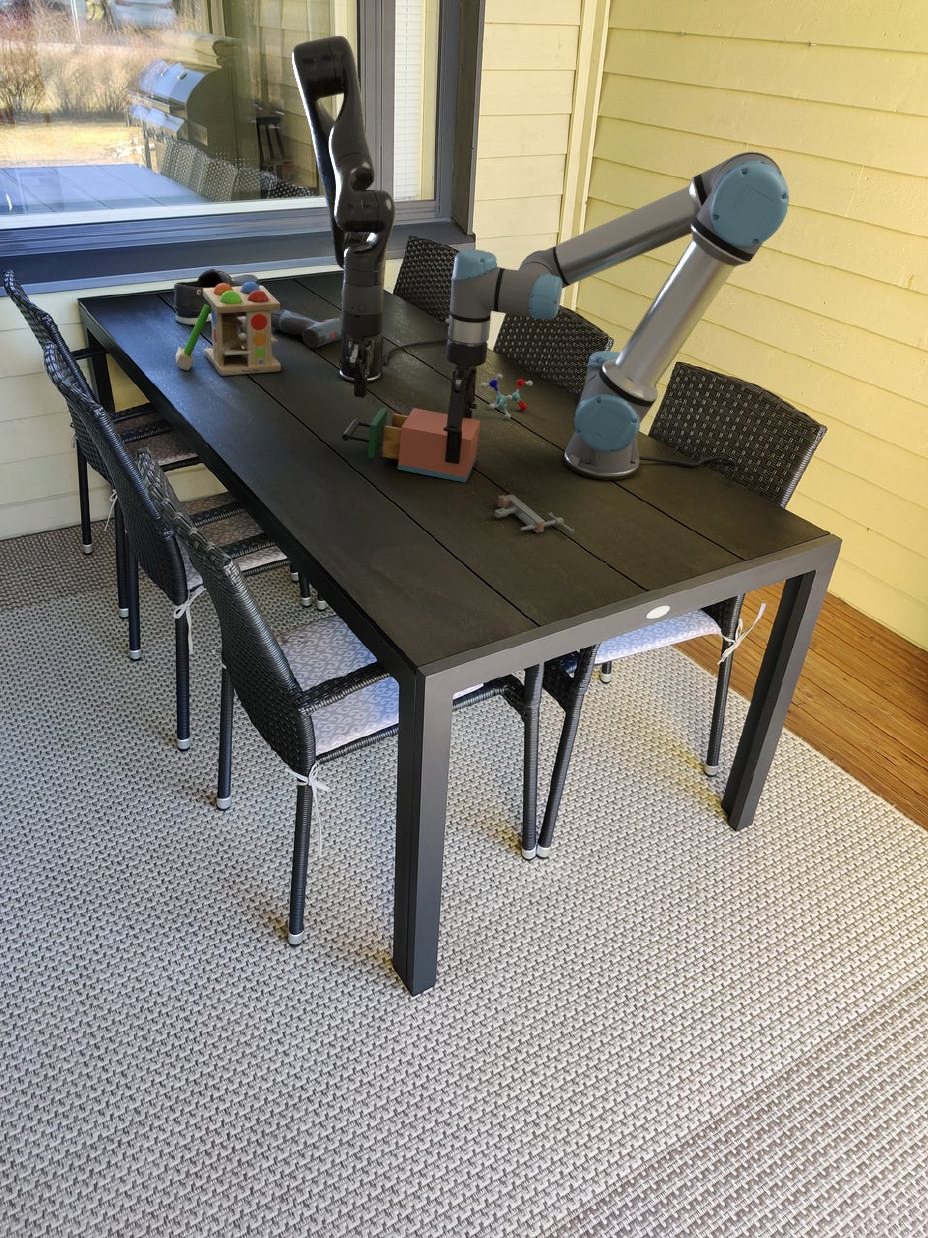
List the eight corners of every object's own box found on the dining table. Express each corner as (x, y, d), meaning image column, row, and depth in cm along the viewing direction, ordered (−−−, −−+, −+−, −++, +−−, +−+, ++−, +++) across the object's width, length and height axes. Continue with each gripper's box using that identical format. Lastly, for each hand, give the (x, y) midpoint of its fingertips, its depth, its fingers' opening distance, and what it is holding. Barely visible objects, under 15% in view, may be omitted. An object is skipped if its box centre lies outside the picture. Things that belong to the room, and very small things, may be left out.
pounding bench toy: (183, 379, 220) (176, 299, 210) (169, 357, 231) (162, 280, 221) (282, 371, 230) (280, 294, 220) (264, 350, 240) (262, 276, 230)
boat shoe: (280, 303, 273) (279, 264, 268) (193, 326, 249) (189, 285, 244) (246, 294, 279) (244, 257, 273) (158, 317, 255) (153, 276, 250)
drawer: (340, 452, 192) (342, 419, 188) (352, 434, 199) (354, 402, 196) (429, 469, 191) (432, 436, 187) (438, 451, 198) (442, 419, 194)
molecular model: (528, 411, 213) (513, 366, 211) (488, 425, 216) (474, 381, 215) (541, 408, 223) (527, 366, 222) (503, 422, 227) (489, 380, 225)
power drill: (305, 316, 264) (364, 334, 256) (257, 332, 251) (318, 351, 243) (305, 296, 261) (365, 314, 253) (257, 311, 248) (318, 330, 240)
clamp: (484, 498, 180) (530, 489, 184) (483, 509, 181) (528, 500, 186) (529, 536, 169) (576, 526, 174) (527, 547, 171) (574, 537, 175)
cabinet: (397, 469, 191) (401, 426, 186) (409, 448, 199) (413, 407, 194) (465, 482, 190) (471, 440, 185) (475, 461, 198) (480, 420, 193)
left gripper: (352, 293, 186) (351, 381, 195) (332, 313, 175) (331, 405, 185) (391, 299, 185) (387, 386, 195) (373, 319, 174) (370, 411, 184)
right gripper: (459, 318, 189) (449, 426, 202) (435, 356, 171) (426, 472, 183) (497, 324, 189) (485, 431, 201) (477, 362, 170) (465, 478, 183)
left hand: (360, 395), depth 190 cm, fingers closed
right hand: (457, 451), depth 192 cm, fingers closed on cabinet, 10 cm apart
